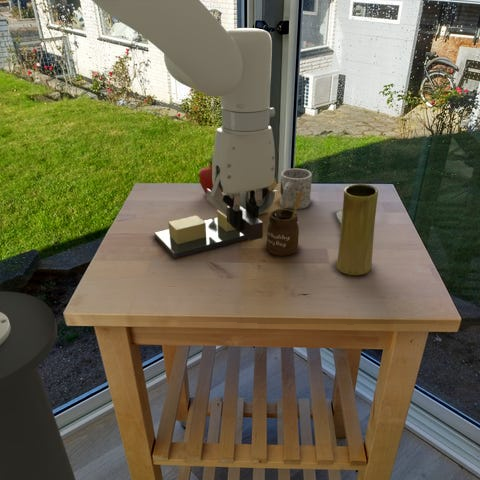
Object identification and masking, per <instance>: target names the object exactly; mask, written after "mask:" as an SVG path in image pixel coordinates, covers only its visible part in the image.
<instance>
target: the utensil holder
mask: <svg viewBox="0 0 480 480" xmlns="http://www.w3.org/2000/svg"><path fill="white" fill-rule="evenodd" d="M274 191H275V193H278V195H279V198H278V199H279V200H280V196H281V195H282V194H281V195H280V193H281V192H280V191H279V190H277V189H274ZM271 193H272V192H271ZM302 194H303V191H302V192H300V193H298V196H297V198H296V201H295V204H294V207H293V208H294V209H289V208H284V207H283V206H282V205H281V208H278V207H276V208H275V206H273V204H270V206H271V205H272V206H271V207H270V208H271V212H270V213H269V216H268V223H267V226H266V240H265V241H266V250H267V252H269V253H270V254H272V255H275V256H282V257H284V256H285V257H286V256H291V255H293V254H295V253H296V252H297V250H298V248H299V247H298V246H299V239H300V236H299V235H300V227H299V216H298V213H297V210H298V209H297V208H298V206H299V204H300V201H301V197H302ZM278 195H277V194H275V195H274V198H276V197H278ZM272 196H273V194H272ZM270 198H271V194H270ZM278 199H276V202H277V203H279V200H278ZM272 201H273V199H272ZM281 201H283V199H281ZM273 202H274V201H273ZM276 202H274V204H275V205H277V204H276Z"/></svg>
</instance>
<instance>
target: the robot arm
mask: <svg viewBox="0 0 480 480" xmlns="http://www.w3.org/2000/svg"><path fill="white" fill-rule="evenodd" d="M91 2H93V3H94V4H95V5H96V6H97V7H99V8H100V9H101V10H102V11H104V12H105V13H106V14H107V15H109V16H110V17H111V18H113V19H114V20H116V21H118V22H119V23H121V24H123V25H125V26H126V27H128V28H130V29H132V30H133V31H134V32H136V33H138V34H139V35H141V36H142V37H143V38H145V39H146V40H147V41H148V42H150V43H151V44H152V45H153V46H154V47H156V48H157V49H158V50H159V51H160V52H162V54H163V60H164V65H165V67H166V70H167V71H168V73H169V74H170V76H171V77H172V78H173V79H174V80H175V81H176V82H178V83H179V84H182V85H184V86H185V87H188V88H190V89H193V90H195V91H197V92H199V93H201V94H203V95H205V96H207V97H213V98H219V97H220V100H221V101H220V103H221V104H220V105H221V112H220V113H221V127H218V128H216V131H215V137H214V141H213V151H212V155H213V161H212V182H213V188H212V191H211V193H210V196H211V197H212V198H213V199H215V200H218V201H221V202H225V203H226V204H227V205H228V206H229V222H230V224H231V226H232V227H233V228H235V229H236V230H237V231H238V232H239V231H242V219H243V211H242V210H241V209H240V194H241V193H242V192H247V191H248V195H249V201H246V210H247V211H248V212H250V213H251V214H252V215H254V216H255V217H257V218H258V219H259V220H260V215H259V206H260V205H261V204H262V200H263V199H264V197H265V196H266V195H267V193H268V192H269V191H271V190H272V189H274V190H275V188H276V187H277V186H278V182H277V180H276V179H277V178H276V177H275V174H276V149H275V141H274V140H275V139H274V134H273V128H272V126H271V125H270V121H271V120H270V119H271V118H274V117H275V116H276V110H275V108H274V107H271V105H270V104H271V84H272V83H271V82H272V81H271V79H272V56H273V55H272V53H273V40H272V37H271V36H272V35H270V33H269V32H268V31H267V30H265V29H260V28H256V27H255V28H253V27H239V28H230V29H227V30H226V28H224V26H223V25H222V24H221V22H220V21H219V20H218V19H217V18H216V17H215V16H214V14H213V13H212V12H211V11H210V10H209V9H208V7H207V6H206V5H205V4H204V3H202V1H201V0H91ZM222 190H223V192H222ZM10 329H11V326H10V322H9V320H8V318H7V317H6V315H5V314H3V313H1V312H0V345H1V344H2V343H3V342H4V341H5V340H6V338H7V337H8V335H9V333H10Z"/></svg>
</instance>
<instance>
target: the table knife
mask: <svg viewBox="0 0 480 480" xmlns="http://www.w3.org/2000/svg"><path fill="white" fill-rule="evenodd" d="M210 193H211V190H209V189H207V194H206V201H207V203H209V204H210V205H212V206H213V207H214V208H215V209H217V210H219V211H220V212H222V213H223V214H224V215H225V216H227V222H228V223H229V224H230V222H229V206H228V205H227V204H226V203H225V202H221V201H218V200H215V199H213V198H212V197H211V196H210ZM240 209H241V210H242V211H243V219H242V231H239V232H241V233H242V234H243V235H244V236H246V237H247V238H248V239H247V240H249V241H252V242H253V241H256V240H261V239H263V237H264V221H262V220H261V219H260V218H259V219H258V218H257V217H255V216H254V215H252V214H251V213H250V212H248V211H247V210H245V209H244V208H243V207H241V206H240Z"/></svg>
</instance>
